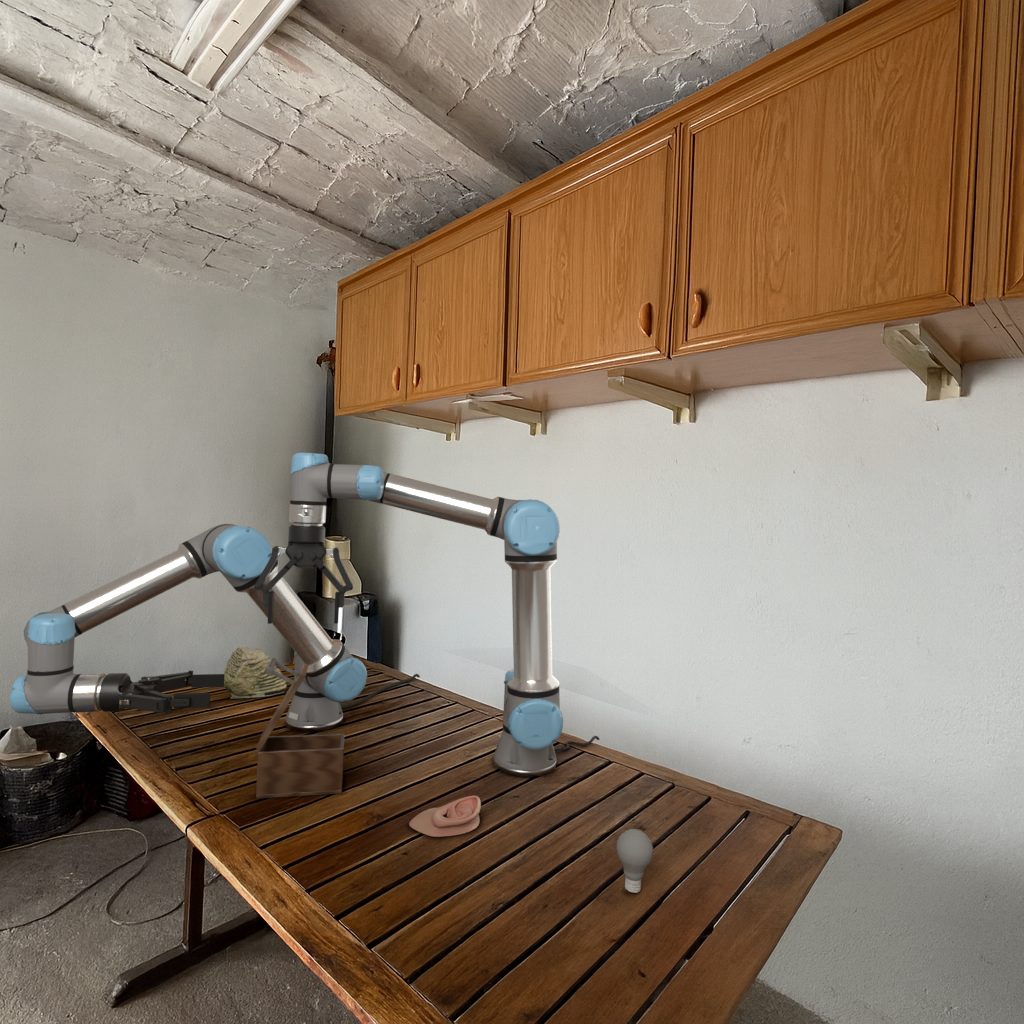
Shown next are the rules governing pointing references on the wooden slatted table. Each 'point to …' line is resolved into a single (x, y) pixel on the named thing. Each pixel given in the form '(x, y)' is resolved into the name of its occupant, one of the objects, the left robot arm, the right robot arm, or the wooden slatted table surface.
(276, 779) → the chest
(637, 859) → the light bulb
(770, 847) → the wooden slatted table surface
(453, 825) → the anatomical model
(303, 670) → the lid
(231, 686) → the fossil
